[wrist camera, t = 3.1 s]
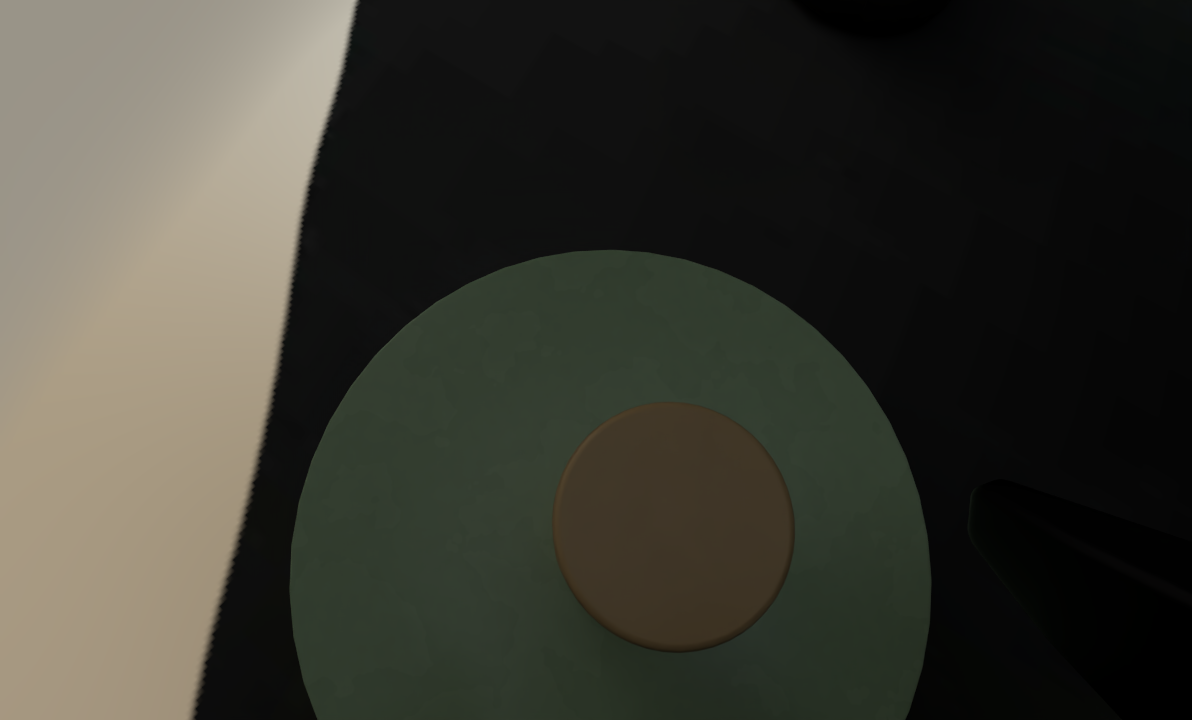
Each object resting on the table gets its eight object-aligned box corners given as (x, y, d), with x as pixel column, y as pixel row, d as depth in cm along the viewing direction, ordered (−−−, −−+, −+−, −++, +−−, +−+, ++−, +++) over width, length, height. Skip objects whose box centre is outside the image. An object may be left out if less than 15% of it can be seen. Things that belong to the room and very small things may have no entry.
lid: (908, 927, 13) (1420, 1456, 5) (238, 851, 13) (-246, 1290, 5) (900, 306, 17) (1194, 87, 9) (380, 238, 17) (224, -49, 9)
